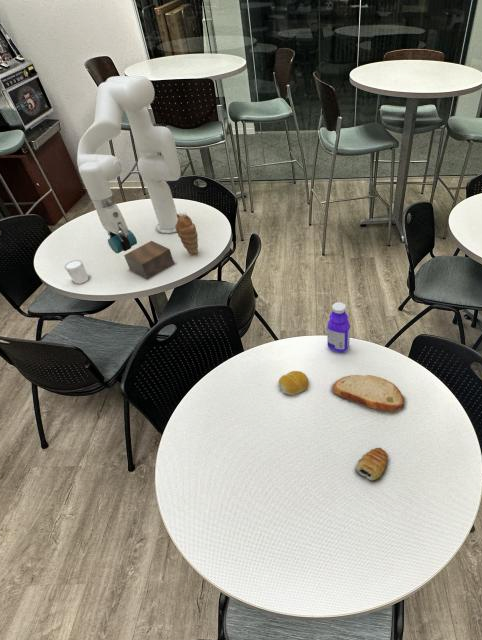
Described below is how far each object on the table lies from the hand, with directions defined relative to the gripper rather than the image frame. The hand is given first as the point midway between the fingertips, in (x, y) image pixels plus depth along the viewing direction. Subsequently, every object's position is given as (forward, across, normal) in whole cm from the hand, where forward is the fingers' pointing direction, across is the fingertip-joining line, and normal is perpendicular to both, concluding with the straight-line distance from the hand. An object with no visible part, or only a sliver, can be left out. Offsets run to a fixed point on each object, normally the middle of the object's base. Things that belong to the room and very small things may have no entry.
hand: (122, 246), depth 164 cm
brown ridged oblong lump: (+14, -7, -26) cm, 30 cm away
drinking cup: (+1, 0, -1) cm, 1 cm away
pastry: (+14, -127, +18) cm, 129 cm away
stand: (+14, 0, -9) cm, 16 cm away
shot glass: (+14, +17, +14) cm, 26 cm away
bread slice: (+14, -113, -2) cm, 114 cm away
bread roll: (+14, -92, +8) cm, 93 cm away
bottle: (+14, -93, -14) cm, 95 cm away
